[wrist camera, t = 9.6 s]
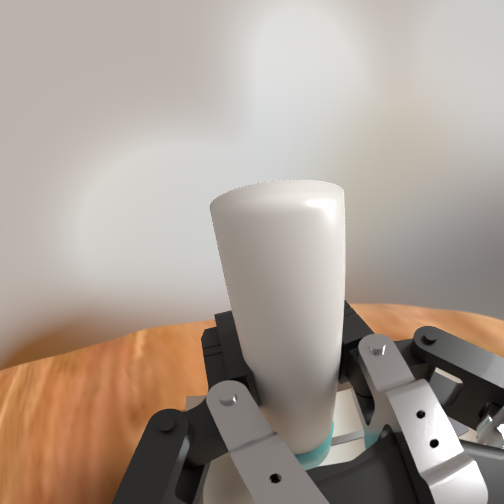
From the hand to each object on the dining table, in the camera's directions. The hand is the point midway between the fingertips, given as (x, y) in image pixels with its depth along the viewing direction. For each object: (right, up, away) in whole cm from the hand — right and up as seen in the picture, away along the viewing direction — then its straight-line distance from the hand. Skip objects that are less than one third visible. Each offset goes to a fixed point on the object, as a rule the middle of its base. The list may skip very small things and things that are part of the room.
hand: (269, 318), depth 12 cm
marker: (+2, -7, +1) cm, 8 cm away
